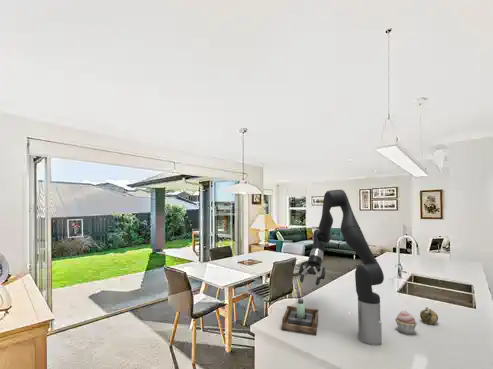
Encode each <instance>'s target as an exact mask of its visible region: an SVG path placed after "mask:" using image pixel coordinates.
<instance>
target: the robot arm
mask: <svg viewBox="0 0 493 369" xmlns="http://www.w3.org/2000/svg"><path fill="white" fill-rule="evenodd" d="M332 208H341V211H342V219H341V224H340V232H341V235H342V237H343V239H344V241H345V243H346V244H347V245H348V247H350V248H351V249H352V251H353V252H354V253H356V254H357V255H358V257H359V258H360V260H361V261H362V263H363V264H359V265H357V267H356V268H355V272H354V276H355V278H354V279H355V280H354V281H355V292H356V295H357V321H358V323H357V324H358V326H357V327H358V328H357V329H358V330H357V332H358V333H357V334H358V340H360V342H362V343H365V344H367V345H372V346H373V345H374V346H376V345H383V337H382V336H383V335H382V332H383V331H382V330H383V329H382V328H383V327H382V320H381V297H380V295H379V294H378V293H376V292H373V286H376V285H377V286H378V285H381V284H383V282H384V280H385V276H384V273H383V270H382V267H381V266H380V264H379V262H378V260H377V258H376V257H375V255H374V254H373V251H372V250H371V248H370V246H369V244H368V241H367V240H366V237H365V235H364V234H363V231H362V229H361V227H360V225H359V223H358V220H357V219H356V216H355V214H354V212H353V209H352V206H351V203H350V201H349V198H348V195H347V193H346V191H345V190H344V189H331V190H327V191H326V192H325V193H324V196H323V203H322V212H321V218H320V221H319V224H318V229H315V230H314V231H313V233H312V238H313V240H312V242H313V243H312V247H311V251H310V253H309V257H308V260H307V264H306V265H304V264H303V263H301V265H300V268H299V270H298V275H299V276H300V277H299V281H300V283H301V284H303V283H304V280H305V276H308V275H313V276H315V275H316V281H315V285H316V286H319V285H320V283H321V280H325V277H326V272H327V270H326V268H325V267H321V266H322V263H323V260H324V254H325V253H324V252H325V249H326V246H325V244H329V243H330V242H331V237H332V236H331V230H332V226H333V225H334V224H333V223H334V218H333V216H332V213H331V209H332ZM320 272H321V275H320Z"/></svg>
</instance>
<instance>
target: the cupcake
mask: <svg viewBox="0 0 493 369" xmlns="http://www.w3.org/2000/svg"><path fill="white" fill-rule="evenodd" d="M394 321H395V322H396V325H397V329H398V331H399V332H400V333H403V334H405V335H413V334H414V333H415V330H416V326H417V325H418V322H417V321H416V319H415V317H413V315H412V314H411V313H409V312H408V311H407V310H406V309H404V310H402V311H400V312H399V313H398V314H397V315H396V317H395V319H394Z"/></svg>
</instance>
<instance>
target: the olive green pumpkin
mask: <svg viewBox="0 0 493 369" xmlns="http://www.w3.org/2000/svg"><path fill="white" fill-rule="evenodd" d="M419 317H420V319H421V320H422V322H424V323H426V324H428V325H435V324H436V323H437V322H438V321H439V316H438V314H437V313H436V312H435V311H434V310H432V309H431V308H428V307H425V309H423V310H421V311H420V312H419Z"/></svg>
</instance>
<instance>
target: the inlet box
mask: <svg viewBox="0 0 493 369" xmlns="http://www.w3.org/2000/svg"><path fill="white" fill-rule="evenodd" d="M281 320H282V323H281V331H285V332H286V331H287V332H291V333H296V334H298V333H299V334H305V335H310V336H317V334H318V326H319V309H316V308H310V307H308V308H307V307H305V319H299V318H297V306H293V305H286V309H285V312H284V314H283V316H282V319H281Z"/></svg>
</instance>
